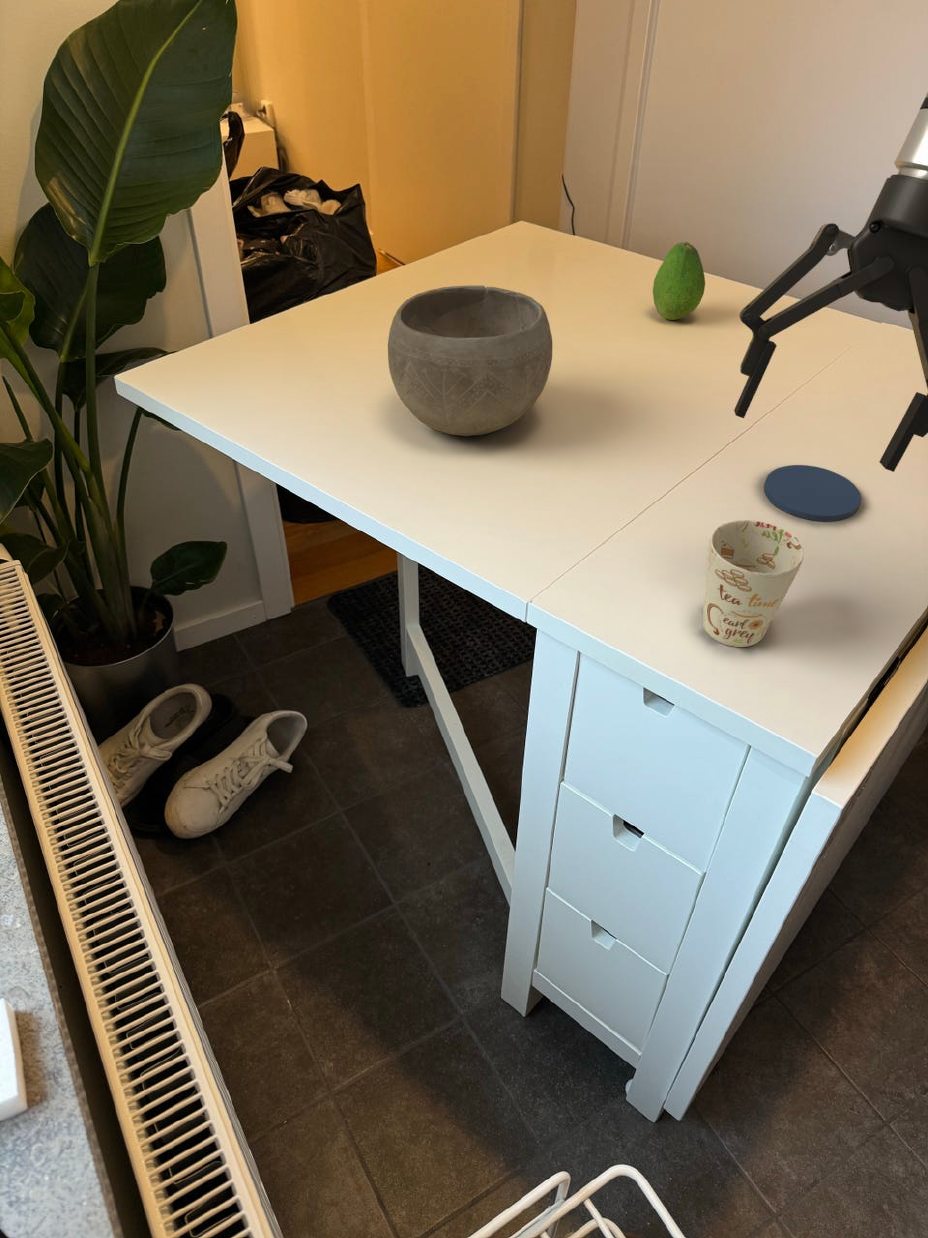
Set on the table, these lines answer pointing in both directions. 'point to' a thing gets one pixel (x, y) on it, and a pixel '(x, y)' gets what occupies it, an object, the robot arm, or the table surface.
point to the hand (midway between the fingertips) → (811, 440)
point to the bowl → (469, 357)
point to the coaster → (812, 493)
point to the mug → (747, 579)
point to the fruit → (679, 282)
